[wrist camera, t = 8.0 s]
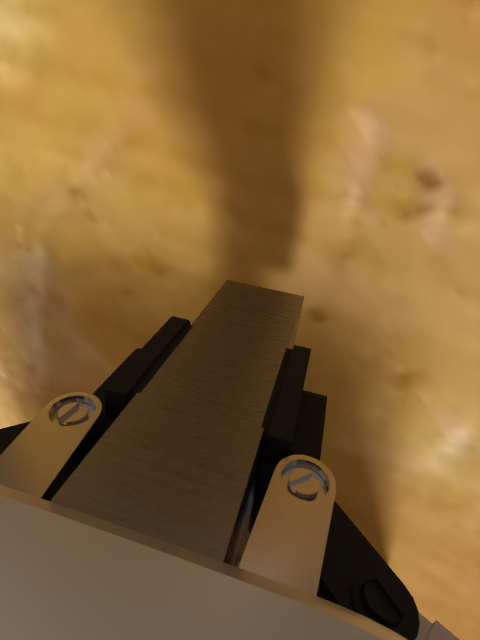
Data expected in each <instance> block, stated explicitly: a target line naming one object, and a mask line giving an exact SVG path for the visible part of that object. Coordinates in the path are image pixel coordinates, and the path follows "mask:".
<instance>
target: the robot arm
mask: <svg viewBox="0 0 480 640" xmlns="http://www.w3.org/2000/svg"><path fill="white" fill-rule="evenodd" d="M192 327H193V326H192V325H190V321H189V320H187V319H182V318H178V317H174V316H172V317H171V318H170V319H169V320H168V321H167V322H166V323H165V324H164V325H163V326H162V327H161V329H160V330H159V331H158V332H157V333H156V334H155V335H154V336H153V337H152V338H151V339H150V340H149V341H148V343H147V344H146V345H145V346H144V347H143V348H142V349H140V348H139V349H136V350H135V351H133V353H132V354H131V355H130V356H129V357H128V358H127V359H126V360H125V361H124V362H123V363H122V364H121V365H120V366H119V367H118V368H117V369H116V370H115V371H114V372H113V373H112V375H111V376H110V377H109V378H108V379H107V380H106V381H105V382H104V383H103V384H102V385H101V386H100V387H99V388H98V389H97V390H96V391H95V392H94V393H93V394H90V393H86V392H71V393H67V394H63V395H60V396H58V397H56V398H54V399H53V400H51V401H50V402H49V403H48V404H47V405H46V406H45V407H44V408H43V409H42V410H41V411H40V412H39V413H38V415H37V416H36V417H35V418H34V419H33V420H32V421H30V422H26V423H22V424H18V425H14V426H10V427H7V428H3V429H0V640H459V639H458V638H457V637H456V636H455V635H453V634H452V633H451V632H450V631H449V630H447V629H446V628H445V627H444V626H442V625H441V624H440V623H439V622H438V621H435V622H434V623H433V624H432V623H431V622H430V621H428V620H427V619H426V618H425V617H424V616H423V615H421V614H420V613H419V612H418V609H417V607H416V604H415V602H414V599H413V597H412V596H411V594H410V593H409V591H408V590H407V588H406V587H405V585H404V584H403V583H402V582H401V581H400V579H399V578H398V577H397V576H396V574H395V573H394V572H393V571H392V570H391V568H390V567H389V566H388V565H387V564H386V562H385V561H384V560H383V559H382V558H381V556H380V555H379V554H378V553H377V551H376V550H375V549H374V548H373V547H372V545H371V544H370V543H369V542H368V541H367V539H366V538H365V537H364V536H363V535H362V533H361V532H360V531H359V530H358V528H357V527H356V526H355V525H354V524H353V522H352V521H351V520H350V519H349V518H348V516H347V515H346V514H345V513H344V511H343V510H342V509H341V508H340V507H339V505H338V504H337V503H336V502H335V501H334V500H335V494H336V481H335V479H334V476H333V474H332V473H331V471H330V470H329V469H328V467H327V466H325V465H324V464H323V463H322V462H321V461H320V455H321V446H322V438H323V429H324V420H325V412H326V403H327V396H323V395H319V394H316V393H312V392H308V391H304V390H303V386H304V381H305V376H306V371H307V367H308V362H309V357H310V352H311V349H309V348H305V347H301V346H296V345H294V346H293V349H289V348H286V350H285V353H284V356H283V359H282V362H281V365H280V369H279V372H278V375H277V378H276V381H275V384H274V388H273V391H272V394H271V397H270V400H269V403H268V407H267V410H266V413H265V416H264V419H263V422H262V426H261V427H262V428H264V430H263V434H262V438H261V443H260V448H259V453H258V458H257V463H256V469H255V474H254V479H253V484H252V490H251V495H250V500H249V505H248V511H247V515H250V520H249V525H248V531H249V533H250V537H249V540H248V542H247V545H246V548H245V551H244V553H243V556H242V559H241V561H240V564H239V567H235V566H232V565H230V564H227V563H224V562H221V561H218V560H215V559H213V558H210V557H207V556H204V555H201V554H199V553H196V552H193V551H190V550H187V549H184V548H182V547H179V546H176V545H173V544H170V543H168V542H165V541H162V540H159V539H156V538H153V537H150V536H147V535H145V534H142V533H139V532H136V531H133V530H130V529H127V528H125V527H122V526H119V525H116V524H113V523H110V522H107V521H104V520H102V519H99V518H96V517H93V516H90V515H87V514H84V513H81V512H78V511H76V510H73V509H70V508H67V507H64V506H61V505H58V504H55V503H52V502H50V501H51V499H52V498H53V497H54V496H55V494H56V493H57V492H58V491H59V489H60V488H61V487H62V486H63V484H64V483H65V482H66V481H67V479H68V478H69V477H70V476H71V474H72V473H73V472H74V471H75V469H76V468H77V467H78V466H79V465H80V463H81V462H82V461H83V460H84V458H85V457H86V456H87V455H88V453H89V452H90V451H91V450H92V448H93V447H94V446H95V445H96V443H97V442H98V441H99V440H100V438H101V437H102V436H103V435H104V433H105V432H106V431H107V430H108V428H109V427H110V426H111V425H112V423H113V422H114V421H115V420H116V418H117V417H118V416H119V415H120V413H121V412H122V411H123V410H124V408H125V407H126V406H127V405H128V403H129V402H130V401H131V400H132V398H133V397H134V396H135V395H136V393H140V392H141V391H142V390H143V389H144V387H145V386H146V385H147V384H148V382H149V381H150V380H151V379H152V377H153V376H154V375H155V373H156V372H157V371H158V370H159V368H160V367H161V366H162V365H163V363H164V362H165V361H166V360H167V358H168V357H169V356H170V354H171V353H172V352H173V351H174V349H175V348H176V347H177V346H178V344H179V343H180V342H181V341H182V339H183V338H184V337H185V335H186V334H187V333H188V332H189V330H190V329H191V328H192Z"/></svg>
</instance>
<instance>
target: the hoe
mask: <svg viewBox="0 0 480 640" xmlns="http://www.w3.org/2000/svg"><path fill="white" fill-rule="evenodd" d="M303 299H304V296H299V295H295V294H290V293H285V292H281V291H276V290H271V289H267V288H262V287H257V286H253V285H248V284H243V283H239V282H234V281H229V280H227V281H226V282H225V284H224V285H223V286H222V287H221V289H220V290H219V291H218V292H217V294H216V295H215V296H214V297H213V299H212V300H211V301H210V302H209V304H208V305H207V306H206V307H205V309H204V310H203V311H202V312H201V314H200V315H199V316H198V317H197V319H196V320H195V321H194V322H193V324H192V326H193V327H192V328H191V329H190V330H189V332H188V333H187V334H186V335H185V337H184V338H183V339H182V341H181V342H180V343H179V344H178V346H177V347H176V348H175V349H174V351H173V352H172V353H171V354H170V356H169V357H168V358H167V360H166V361H165V362H164V363H163V365H162V366H161V367H160V368H159V370H158V371H157V372H156V373H155V375H154V376H153V377H152V379H151V380H150V381H149V382H148V384H147V385H146V386H145V387H144V389H143V390H142V391H141V392H140V393H136V395H135V396H134V397H133V398H132V400H131V401H130V402H129V403H128V405H127V406H126V407H125V408H124V410H123V411H122V412H121V413H120V415H119V416H118V417H117V418H116V420H115V421H114V422H113V423H112V425H111V426H110V427H109V428H108V430H107V431H106V432H105V433H104V435H103V436H102V437H101V438H100V440H99V441H98V442H97V443H96V445H95V446H94V447H93V448H92V450H91V451H90V452H89V453H88V455H87V456H86V457H85V458H84V460H83V461H82V462H81V463H80V465H79V466H78V467H77V468H76V469H75V471H74V472H73V473H72V474H71V476H70V477H69V478H68V479H67V481H66V482H65V483H64V484H63V486H62V487H61V488H60V489H59V491H58V492H57V493H56V494H55V496H54V497H53V498H52V499H51V501H50V502H52V503H55V504H58V505H61V506H64V507H67V508H70V509H73V510H76V511H78V512H81V513H84V514H87V515H90V516H93V517H96V518H99V519H102V520H104V521H107V522H110V523H113V524H116V525H119V526H122V527H125V528H127V529H130V530H133V531H136V532H139V533H142V534H145V535H147V536H150V537H153V538H156V539H159V540H162V541H165V542H168V543H170V544H173V545H176V546H179V547H182V548H184V549H187V550H190V551H193V552H196V553H199V554H201V555H204V556H207V557H210V558H213V559H215V560H218V561H221V562H224V563H227V564H230V565H232V566H235V567H239V564H240V561H241V559H242V556H243V553H244V551H245V548H246V545H247V542H248V540H249V537H250V533H249V531H248V525H249V520H250V515H247V511H248V505H249V500H250V495H251V490H252V484H253V479H254V474H255V469H256V463H257V458H258V453H259V448H260V443H261V438H262V434H263V430H264V428H262V427H261V426H262V422H263V419H264V416H265V413H266V410H267V407H268V403H269V400H270V397H271V394H272V391H273V388H274V384H275V381H276V378H277V375H278V372H279V369H280V365H281V362H282V359H283V356H284V353H285V350H286V348H289V349H293V346H294V342H295V337H296V332H297V328H298V323H299V318H300V314H301V309H302V304H303Z"/></svg>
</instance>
